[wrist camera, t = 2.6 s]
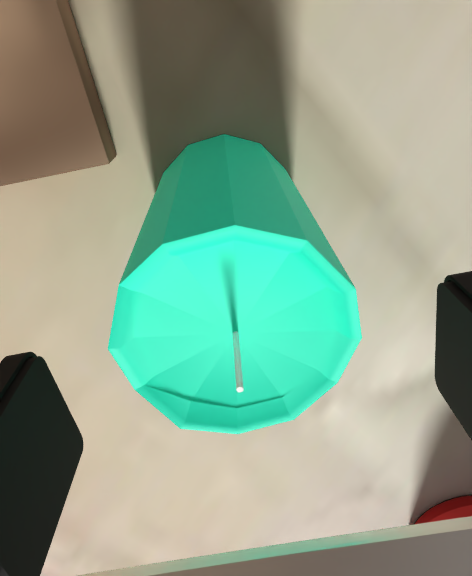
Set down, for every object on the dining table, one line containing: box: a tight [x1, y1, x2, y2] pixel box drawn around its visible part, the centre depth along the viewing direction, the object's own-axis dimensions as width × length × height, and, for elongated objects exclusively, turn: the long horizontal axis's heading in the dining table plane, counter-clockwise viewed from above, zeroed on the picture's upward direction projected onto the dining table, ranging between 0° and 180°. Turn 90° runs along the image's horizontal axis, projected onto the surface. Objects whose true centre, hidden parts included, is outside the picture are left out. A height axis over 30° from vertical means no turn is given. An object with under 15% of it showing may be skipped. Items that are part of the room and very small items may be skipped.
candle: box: [108, 134, 362, 434], centre depth 14 cm, size 6×6×12 cm
